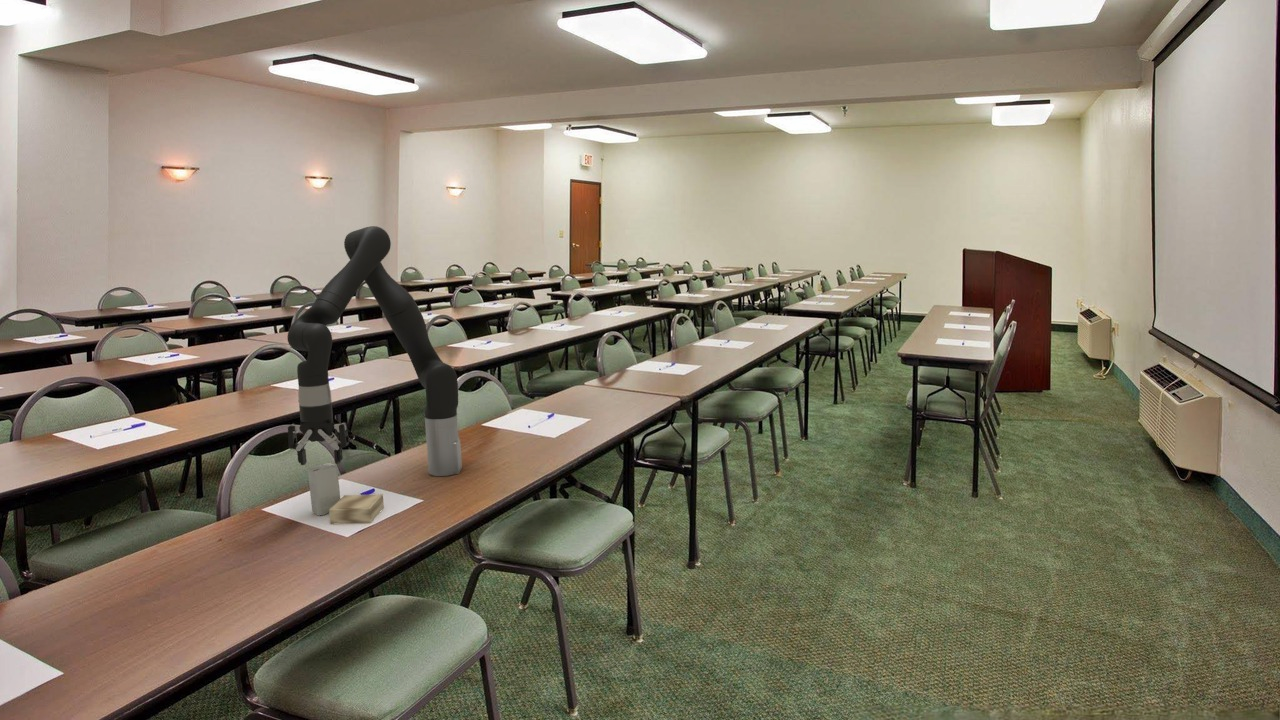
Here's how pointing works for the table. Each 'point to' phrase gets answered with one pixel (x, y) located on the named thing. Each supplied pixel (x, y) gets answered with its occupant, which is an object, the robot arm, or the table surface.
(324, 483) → the skincare box
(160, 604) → the table surface
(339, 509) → the block
